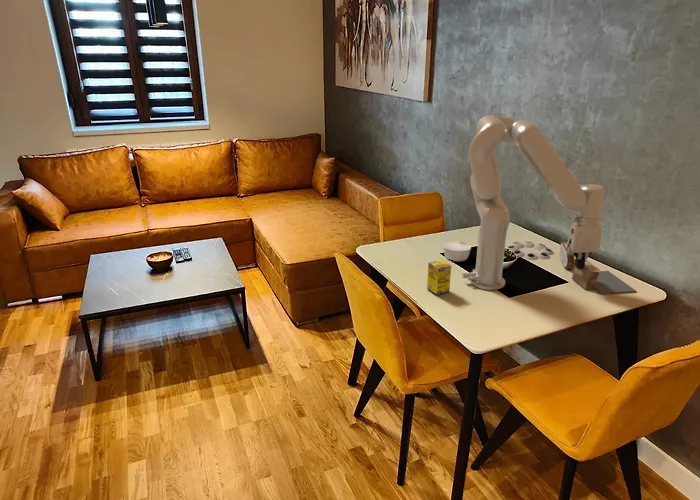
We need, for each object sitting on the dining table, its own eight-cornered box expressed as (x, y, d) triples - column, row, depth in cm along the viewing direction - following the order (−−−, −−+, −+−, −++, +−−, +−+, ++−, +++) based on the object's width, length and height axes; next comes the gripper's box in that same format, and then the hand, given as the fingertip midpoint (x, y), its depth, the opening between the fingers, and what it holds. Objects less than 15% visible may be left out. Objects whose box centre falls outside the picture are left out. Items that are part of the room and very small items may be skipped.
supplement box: (436, 296, 174) (438, 268, 170) (426, 289, 179) (427, 262, 174) (449, 292, 176) (451, 264, 172) (439, 286, 181) (441, 259, 177)
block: (584, 289, 176) (591, 269, 173) (571, 278, 185) (577, 259, 182) (593, 289, 177) (600, 269, 174) (580, 278, 185) (586, 259, 182)
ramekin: (475, 258, 204) (476, 246, 202) (456, 265, 198) (457, 253, 196) (456, 250, 213) (456, 239, 211) (437, 256, 207) (437, 244, 205)
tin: (573, 272, 190) (576, 252, 187) (564, 271, 191) (568, 251, 188) (565, 257, 204) (568, 238, 201) (557, 256, 205) (560, 237, 201)
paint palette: (505, 241, 222) (505, 237, 221) (551, 245, 217) (552, 241, 216) (505, 258, 205) (506, 254, 204) (556, 263, 200) (556, 258, 199)
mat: (601, 294, 173) (601, 293, 173) (575, 274, 189) (576, 272, 189) (636, 292, 174) (636, 290, 174) (607, 272, 190) (607, 270, 190)
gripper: (572, 224, 167) (564, 273, 174) (614, 222, 168) (604, 271, 175) (561, 217, 174) (554, 265, 181) (601, 215, 175) (592, 262, 182)
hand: (579, 267), depth 178 cm, fingers closed
